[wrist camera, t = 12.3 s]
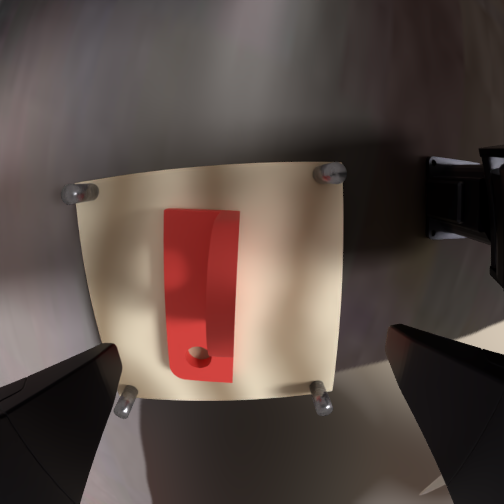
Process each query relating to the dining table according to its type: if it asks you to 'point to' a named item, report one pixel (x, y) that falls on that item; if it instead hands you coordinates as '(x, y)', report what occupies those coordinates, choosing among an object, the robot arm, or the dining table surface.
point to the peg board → (248, 275)
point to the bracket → (201, 290)
